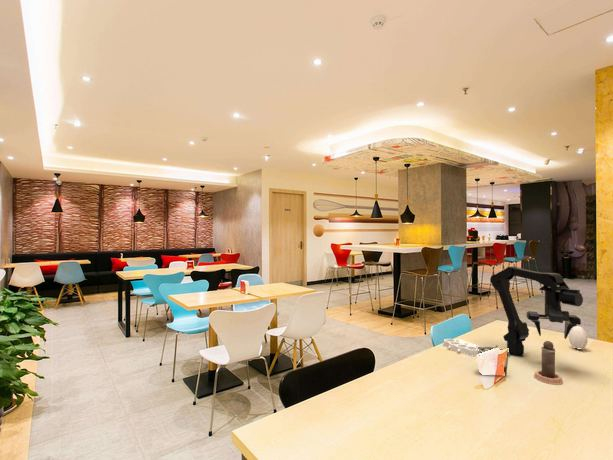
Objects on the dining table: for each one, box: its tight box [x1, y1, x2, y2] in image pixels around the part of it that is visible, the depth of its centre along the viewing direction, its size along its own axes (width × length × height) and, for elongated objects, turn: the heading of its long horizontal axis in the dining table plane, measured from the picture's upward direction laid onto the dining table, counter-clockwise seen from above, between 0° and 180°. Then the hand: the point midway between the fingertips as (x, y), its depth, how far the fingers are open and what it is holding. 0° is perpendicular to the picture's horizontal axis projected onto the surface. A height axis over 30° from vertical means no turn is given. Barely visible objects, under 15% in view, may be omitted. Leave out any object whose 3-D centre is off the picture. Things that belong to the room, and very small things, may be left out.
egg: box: [568, 325, 589, 350], centre depth 170 cm, size 7×7×12 cm
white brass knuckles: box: [443, 338, 482, 357], centre depth 169 cm, size 3×18×15 cm
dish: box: [533, 369, 564, 386], centre depth 136 cm, size 10×10×2 cm
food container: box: [478, 346, 511, 377], centre depth 142 cm, size 12×6×10 cm, turn 84°
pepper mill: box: [540, 340, 556, 378], centre depth 136 cm, size 4×4×15 cm
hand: (552, 337), depth 148 cm, fingers open, 9 cm apart
